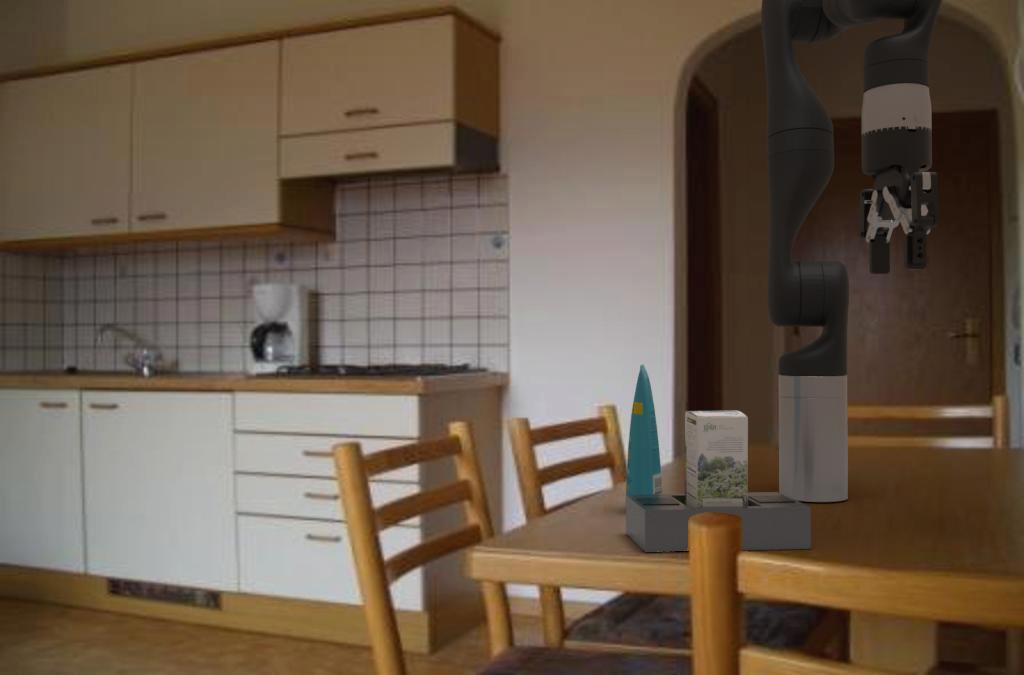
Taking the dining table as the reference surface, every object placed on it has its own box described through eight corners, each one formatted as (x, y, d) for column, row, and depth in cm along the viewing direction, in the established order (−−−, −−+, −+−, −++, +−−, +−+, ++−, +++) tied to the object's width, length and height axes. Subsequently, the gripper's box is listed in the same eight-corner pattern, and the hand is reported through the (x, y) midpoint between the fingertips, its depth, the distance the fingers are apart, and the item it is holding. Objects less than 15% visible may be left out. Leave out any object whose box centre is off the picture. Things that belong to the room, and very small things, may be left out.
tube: (624, 507, 130) (624, 363, 130) (661, 507, 130) (660, 363, 130) (626, 517, 123) (625, 365, 123) (665, 517, 123) (664, 365, 123)
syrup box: (733, 535, 111) (732, 408, 111) (749, 546, 106) (748, 412, 106) (684, 536, 111) (683, 409, 111) (697, 547, 105) (696, 413, 105)
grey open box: (626, 533, 113) (625, 494, 113) (777, 530, 114) (777, 491, 114) (645, 552, 103) (644, 509, 103) (810, 548, 104) (810, 505, 104)
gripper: (838, 142, 119) (839, 275, 119) (893, 116, 104) (894, 267, 104) (897, 143, 119) (898, 275, 119) (961, 117, 105) (961, 267, 105)
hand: (896, 271), depth 112 cm, fingers open, 8 cm apart
